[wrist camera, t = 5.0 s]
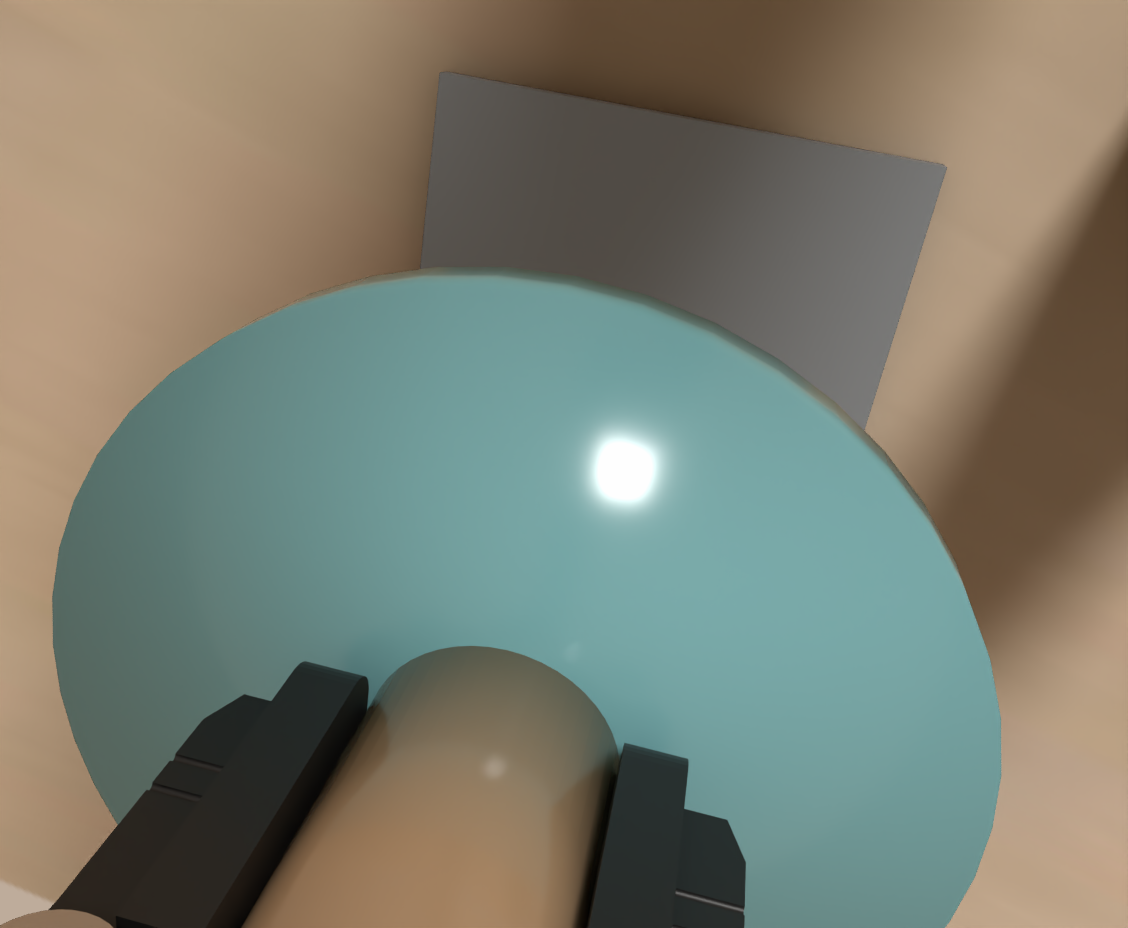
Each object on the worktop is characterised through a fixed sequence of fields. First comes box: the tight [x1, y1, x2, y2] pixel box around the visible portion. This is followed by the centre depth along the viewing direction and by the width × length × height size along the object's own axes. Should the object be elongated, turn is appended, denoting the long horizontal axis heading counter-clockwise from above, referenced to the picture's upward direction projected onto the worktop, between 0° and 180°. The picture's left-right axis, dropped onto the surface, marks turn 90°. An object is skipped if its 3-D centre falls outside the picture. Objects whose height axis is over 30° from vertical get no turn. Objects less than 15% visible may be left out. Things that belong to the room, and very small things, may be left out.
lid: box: [52, 267, 1001, 928], centre depth 10 cm, size 11×11×6 cm
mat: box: [420, 72, 947, 430], centre depth 26 cm, size 12×12×1 cm
